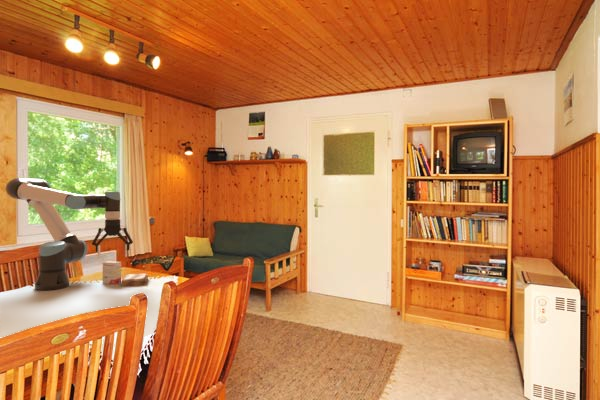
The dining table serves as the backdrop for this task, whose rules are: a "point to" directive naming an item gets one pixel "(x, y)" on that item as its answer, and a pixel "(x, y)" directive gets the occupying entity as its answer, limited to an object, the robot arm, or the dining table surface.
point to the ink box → (111, 272)
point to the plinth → (134, 279)
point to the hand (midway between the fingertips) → (112, 257)
